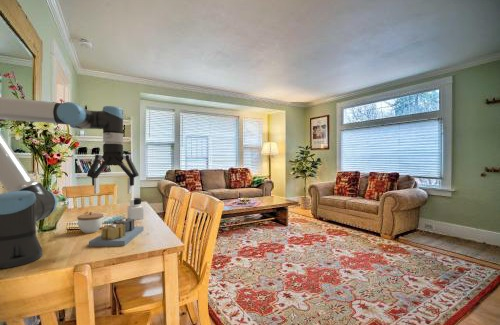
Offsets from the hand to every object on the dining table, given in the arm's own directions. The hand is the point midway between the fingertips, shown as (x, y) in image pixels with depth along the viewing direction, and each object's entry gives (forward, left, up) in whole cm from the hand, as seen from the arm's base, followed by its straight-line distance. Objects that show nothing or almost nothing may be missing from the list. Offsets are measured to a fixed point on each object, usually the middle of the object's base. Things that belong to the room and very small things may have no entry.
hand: (113, 193), depth 110 cm
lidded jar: (-18, +16, -21) cm, 32 cm away
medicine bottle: (-6, +41, -21) cm, 46 cm away
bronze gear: (0, 0, -18) cm, 19 cm away
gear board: (0, +5, -20) cm, 21 cm away
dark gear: (0, +10, -18) cm, 21 cm away
